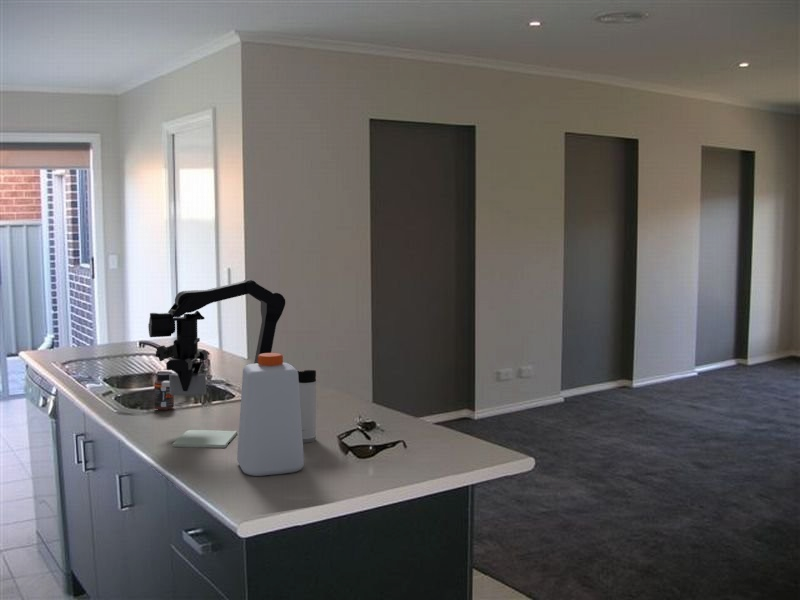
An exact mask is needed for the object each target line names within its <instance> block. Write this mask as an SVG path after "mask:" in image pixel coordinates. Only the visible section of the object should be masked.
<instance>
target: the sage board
mask: <svg viewBox="0 0 800 600" xmlns="http://www.w3.org/2000/svg"><path fill="white" fill-rule="evenodd" d="M237 435H238V431H237V430H213V429H211V430H210V429H209V430H208V429H188V430H186V431H185V432H184V433H183V434H182V435H181V436H179V438H177V439H176V440H175V441H174V442H173V443H172V447H174V448H176V447H177V448H213V449H214V448H219V449H224V448H226V447H227V446H228V443H229V442H230V443H231V441H232V440H233V439H234V438H235V437H236V436H237ZM230 443H229V444H230Z"/></svg>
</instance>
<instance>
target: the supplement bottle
mask: <svg viewBox="0 0 800 600" xmlns="http://www.w3.org/2000/svg"><path fill="white" fill-rule="evenodd" d="M170 374H171V372H170V373H169V372H159V373H157V374H156V375H157V379H156V380H155V381H154V384H153V385H154V387H153V388H154V401H153V402H154V409H156V410H157V411H158V410H159V411H167V410H168V409H169V410H172V409H173V408H174V407H175V406H174V405H175V404H174V403H175V401H174V399H175V397H174V396H175V395H171V394H170V387H162V382H163V381H169V375H170Z"/></svg>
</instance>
